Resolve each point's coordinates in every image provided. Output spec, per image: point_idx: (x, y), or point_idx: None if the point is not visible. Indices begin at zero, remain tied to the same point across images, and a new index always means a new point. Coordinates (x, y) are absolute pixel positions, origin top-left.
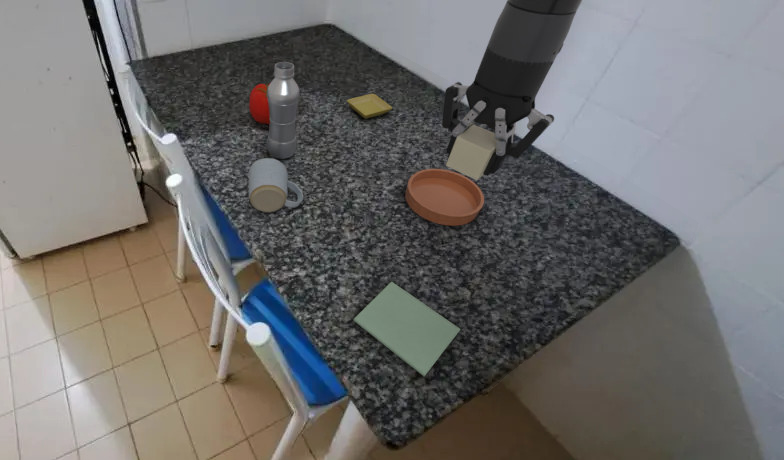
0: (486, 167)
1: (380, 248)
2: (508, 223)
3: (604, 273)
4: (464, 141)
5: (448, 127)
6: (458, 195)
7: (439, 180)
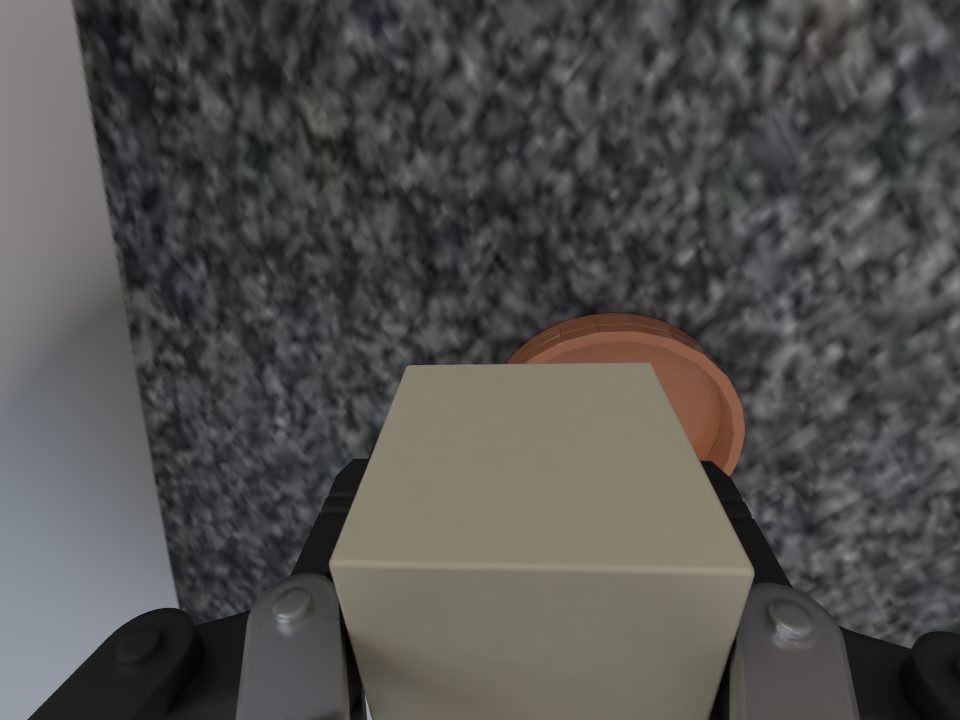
0: None
1: (653, 40)
2: None
3: (183, 463)
4: (643, 556)
5: (915, 655)
6: None
7: None
